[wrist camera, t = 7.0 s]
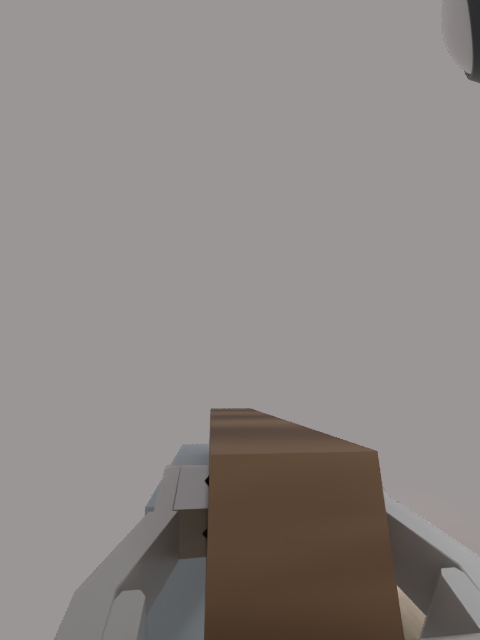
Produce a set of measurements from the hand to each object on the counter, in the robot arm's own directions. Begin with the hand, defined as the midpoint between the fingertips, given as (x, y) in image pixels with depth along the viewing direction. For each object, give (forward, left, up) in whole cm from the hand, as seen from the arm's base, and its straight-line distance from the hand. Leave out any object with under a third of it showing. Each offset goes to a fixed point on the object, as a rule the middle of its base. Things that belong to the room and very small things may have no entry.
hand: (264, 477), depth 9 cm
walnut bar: (-2, -6, -2) cm, 7 cm away
